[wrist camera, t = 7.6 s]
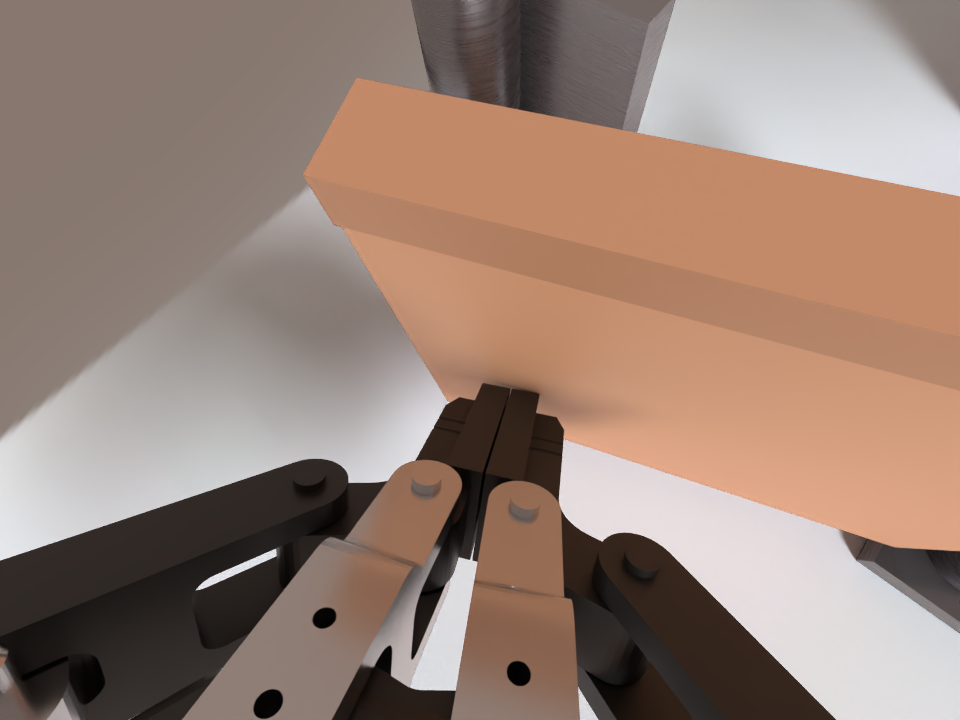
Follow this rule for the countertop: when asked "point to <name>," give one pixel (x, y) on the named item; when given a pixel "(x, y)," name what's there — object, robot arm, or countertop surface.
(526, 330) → the gate
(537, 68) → the post
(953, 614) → the hinge post
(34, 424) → the countertop surface
